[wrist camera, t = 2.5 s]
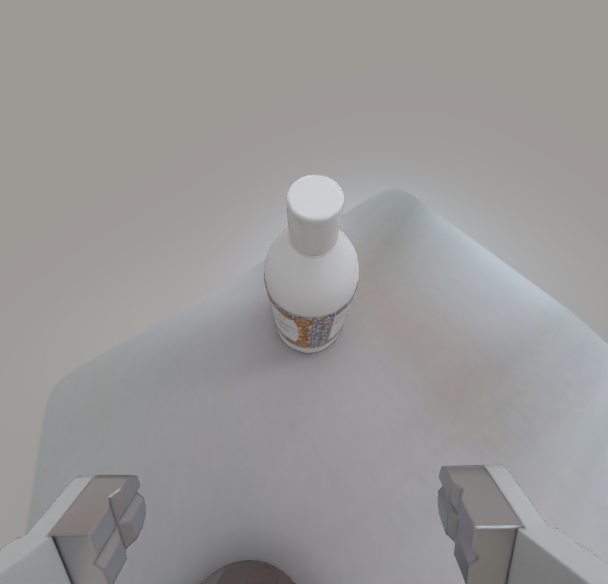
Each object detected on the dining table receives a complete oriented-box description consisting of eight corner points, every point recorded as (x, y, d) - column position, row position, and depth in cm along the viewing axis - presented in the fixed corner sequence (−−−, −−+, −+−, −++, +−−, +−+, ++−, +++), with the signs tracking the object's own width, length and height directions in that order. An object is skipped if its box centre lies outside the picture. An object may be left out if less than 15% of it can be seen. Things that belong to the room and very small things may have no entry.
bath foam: (263, 317, 34) (217, 187, 16) (312, 281, 36) (322, 126, 18) (304, 367, 32) (305, 285, 14) (354, 326, 34) (415, 203, 15)
